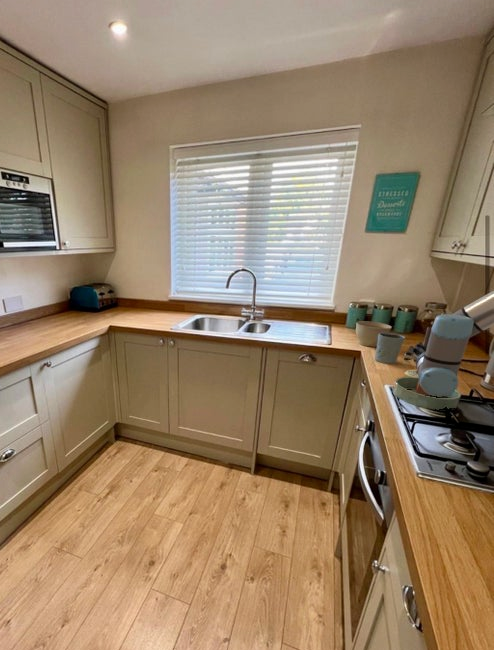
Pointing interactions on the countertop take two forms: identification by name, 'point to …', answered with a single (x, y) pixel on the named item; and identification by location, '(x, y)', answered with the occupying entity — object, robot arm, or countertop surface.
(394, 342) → the blue grey cup
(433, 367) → the robot arm
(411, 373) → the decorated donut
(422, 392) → the block
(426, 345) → the dark brown bar
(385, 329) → the planter bowl
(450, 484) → the countertop surface
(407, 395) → the bowl
